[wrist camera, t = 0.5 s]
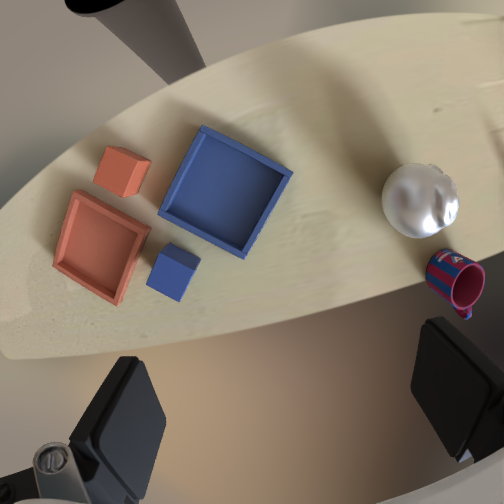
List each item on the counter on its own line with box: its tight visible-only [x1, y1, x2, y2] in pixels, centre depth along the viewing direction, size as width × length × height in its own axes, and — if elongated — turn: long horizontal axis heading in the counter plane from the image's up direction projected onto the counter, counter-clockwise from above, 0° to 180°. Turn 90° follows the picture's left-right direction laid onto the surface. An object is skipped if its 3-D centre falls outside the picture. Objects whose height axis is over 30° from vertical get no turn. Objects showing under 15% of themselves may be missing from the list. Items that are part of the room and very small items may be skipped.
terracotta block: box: [93, 146, 151, 198], centre depth 32 cm, size 4×4×4 cm
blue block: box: [146, 243, 201, 302], centre depth 35 cm, size 4×4×4 cm
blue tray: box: [157, 125, 293, 260], centre depth 34 cm, size 12×12×2 cm
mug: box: [426, 249, 485, 319], centre depth 35 cm, size 7×10×7 cm
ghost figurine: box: [382, 163, 459, 238], centre depth 30 cm, size 9×10×10 cm
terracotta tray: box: [52, 190, 151, 306], centre depth 36 cm, size 12×12×2 cm
